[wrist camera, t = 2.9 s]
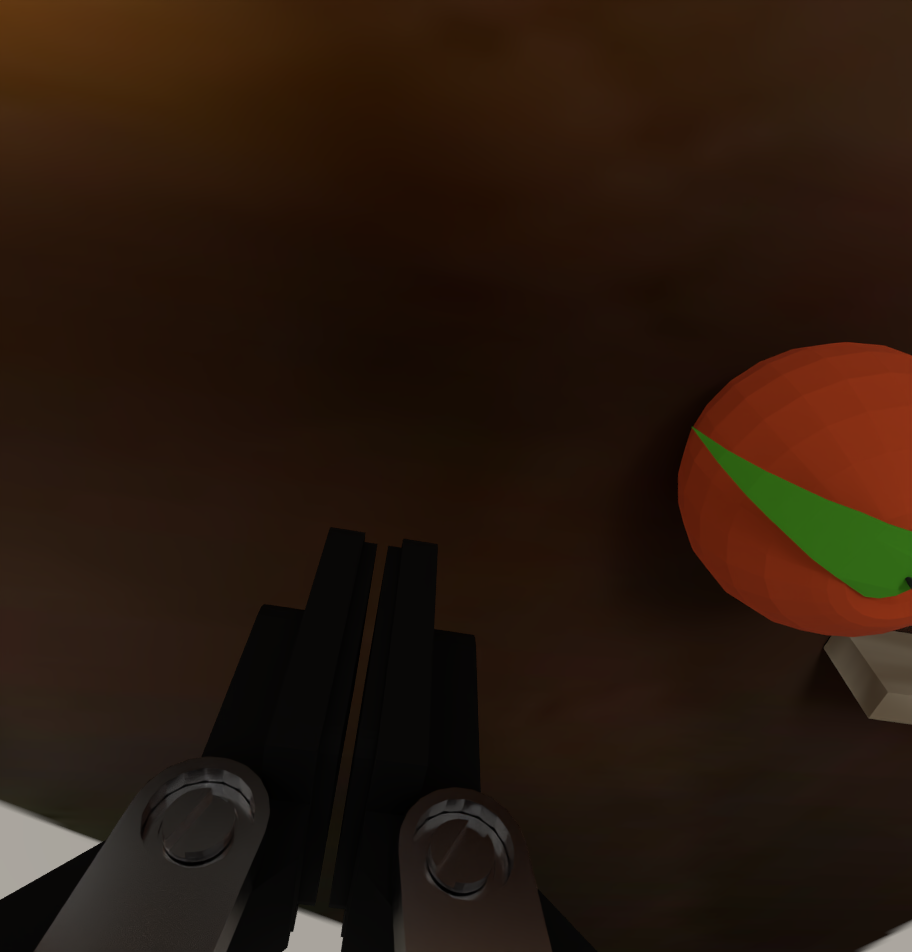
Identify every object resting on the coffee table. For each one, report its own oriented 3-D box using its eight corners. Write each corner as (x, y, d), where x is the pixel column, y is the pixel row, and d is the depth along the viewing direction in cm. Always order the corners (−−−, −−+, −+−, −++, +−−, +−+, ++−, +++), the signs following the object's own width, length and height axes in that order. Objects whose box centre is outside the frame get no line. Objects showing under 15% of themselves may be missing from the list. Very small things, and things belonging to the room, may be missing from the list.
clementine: (570, 453, 20) (621, 624, 13) (724, 233, 16) (883, 329, 10) (780, 554, 21) (908, 746, 15) (955, 376, 18) (1204, 527, 12)
